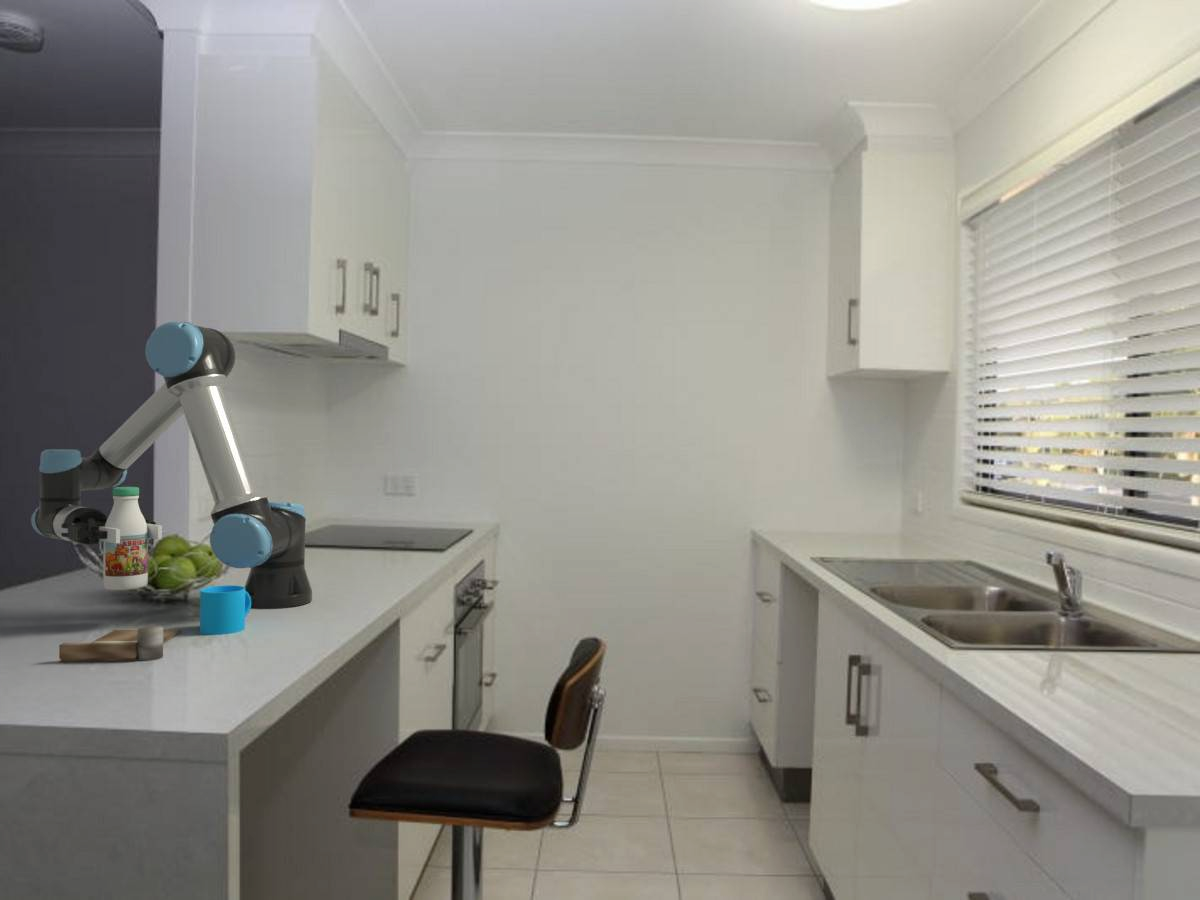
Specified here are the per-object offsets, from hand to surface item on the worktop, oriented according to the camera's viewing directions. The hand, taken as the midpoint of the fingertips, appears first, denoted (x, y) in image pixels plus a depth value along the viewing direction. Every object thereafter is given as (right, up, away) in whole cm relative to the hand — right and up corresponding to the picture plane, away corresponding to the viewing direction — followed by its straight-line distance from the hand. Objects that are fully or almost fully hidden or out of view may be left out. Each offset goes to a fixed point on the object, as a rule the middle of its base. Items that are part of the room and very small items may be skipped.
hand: (139, 534), depth 164 cm
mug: (+16, -19, +4) cm, 25 cm away
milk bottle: (-4, -11, +3) cm, 12 cm away
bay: (+5, -19, -11) cm, 23 cm away
